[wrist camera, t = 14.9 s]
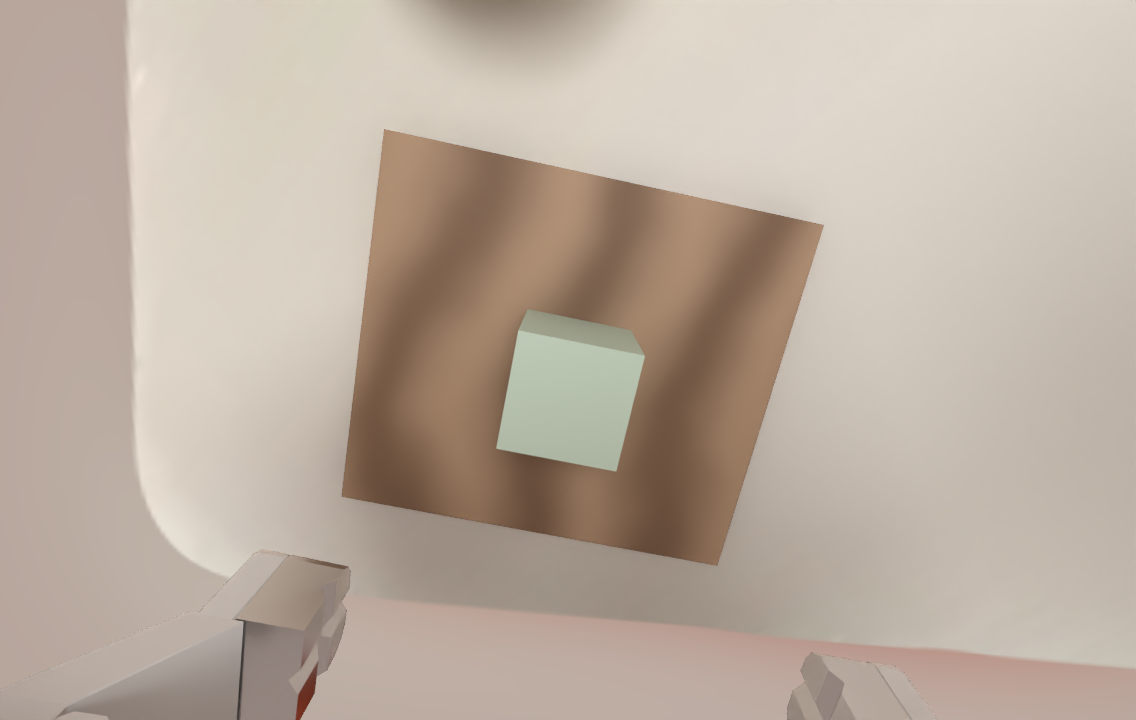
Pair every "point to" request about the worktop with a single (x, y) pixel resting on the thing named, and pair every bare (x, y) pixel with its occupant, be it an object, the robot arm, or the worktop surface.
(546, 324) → the sage cube
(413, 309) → the cutting board
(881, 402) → the worktop surface
